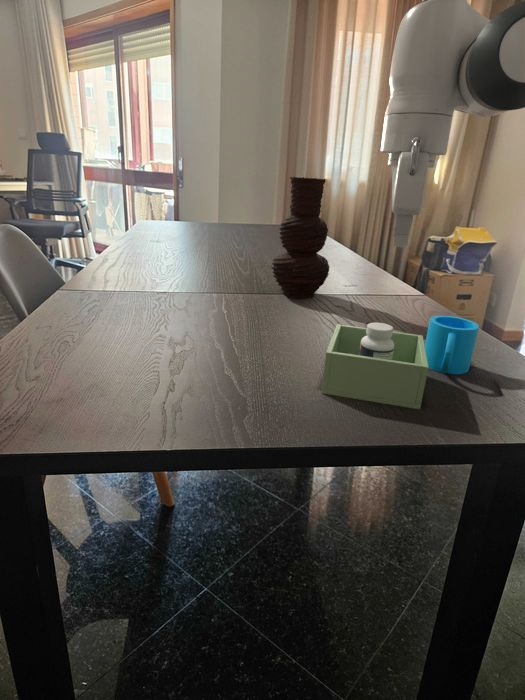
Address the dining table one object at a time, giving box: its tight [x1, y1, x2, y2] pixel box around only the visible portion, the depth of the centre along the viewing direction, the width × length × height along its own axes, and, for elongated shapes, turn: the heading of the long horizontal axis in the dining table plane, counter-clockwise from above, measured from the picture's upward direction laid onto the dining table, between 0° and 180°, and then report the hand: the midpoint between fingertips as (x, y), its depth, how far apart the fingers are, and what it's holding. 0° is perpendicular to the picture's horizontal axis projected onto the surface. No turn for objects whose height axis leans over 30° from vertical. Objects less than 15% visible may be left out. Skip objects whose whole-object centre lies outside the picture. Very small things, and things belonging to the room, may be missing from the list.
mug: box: [424, 315, 480, 375], centre depth 83 cm, size 12×8×8 cm
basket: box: [321, 323, 429, 410], centre depth 76 cm, size 15×15×7 cm
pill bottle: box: [359, 322, 394, 360], centre depth 75 cm, size 5×5×9 cm
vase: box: [270, 176, 330, 300], centre depth 122 cm, size 15×15×30 cm
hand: (399, 242), depth 70 cm, fingers open, 8 cm apart
